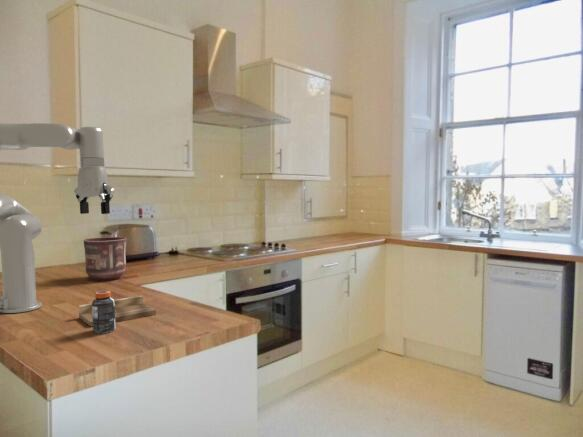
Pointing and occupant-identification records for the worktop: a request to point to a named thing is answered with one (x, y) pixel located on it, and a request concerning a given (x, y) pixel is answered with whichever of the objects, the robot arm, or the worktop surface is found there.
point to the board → (120, 310)
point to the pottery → (105, 258)
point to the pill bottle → (103, 312)
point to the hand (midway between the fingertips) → (95, 213)
